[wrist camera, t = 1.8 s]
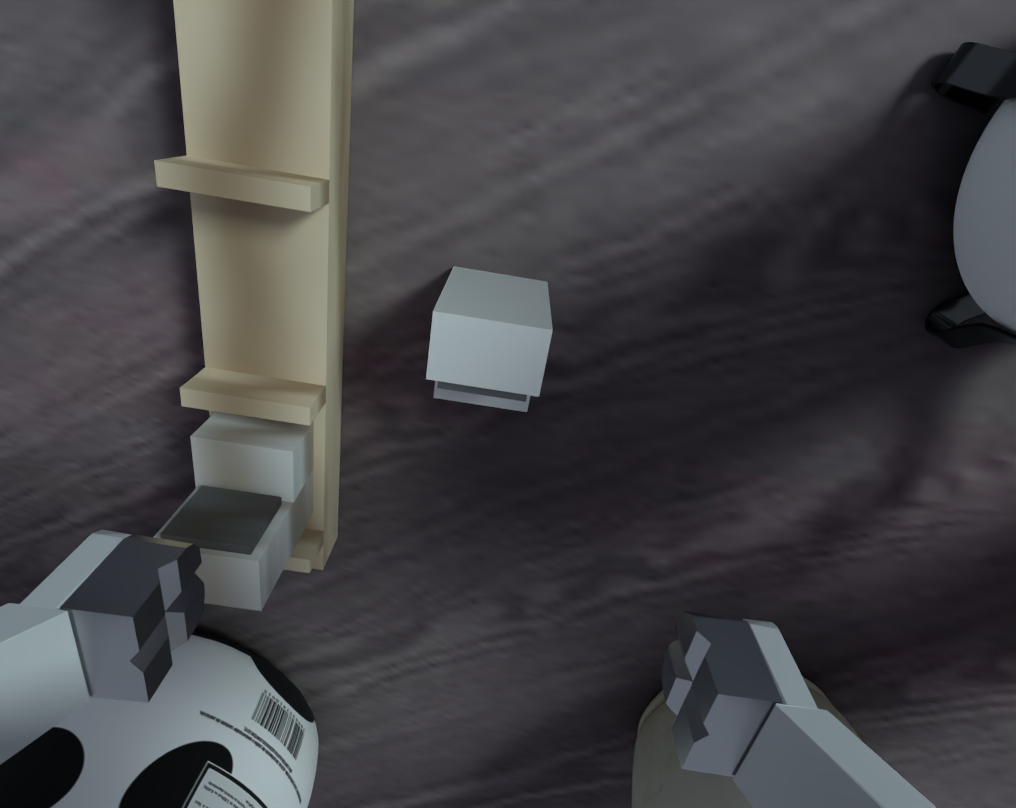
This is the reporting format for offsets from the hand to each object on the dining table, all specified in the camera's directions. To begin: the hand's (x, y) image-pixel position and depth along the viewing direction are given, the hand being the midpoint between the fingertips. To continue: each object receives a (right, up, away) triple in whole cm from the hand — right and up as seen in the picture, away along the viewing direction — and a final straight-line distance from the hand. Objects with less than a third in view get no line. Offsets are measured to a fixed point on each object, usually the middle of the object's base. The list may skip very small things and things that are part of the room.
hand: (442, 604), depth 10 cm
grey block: (0, +7, +16) cm, 17 cm away
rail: (-8, +9, +15) cm, 19 cm away
